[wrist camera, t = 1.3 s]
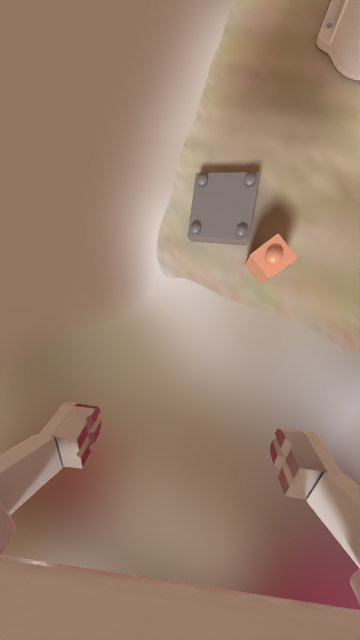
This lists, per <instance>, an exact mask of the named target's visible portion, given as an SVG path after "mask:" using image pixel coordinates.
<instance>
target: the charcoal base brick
mask: <svg viewBox="0 0 360 640" xmlns="http://www.w3.org/2000/svg"><path fill="white" fill-rule="evenodd" d="M259 176H260V172H231V173H196V178H195V186H194V193H193V201H192V208H191V216H190V223H189V231H188V237H189V239H190V240H191V241H194V242H208V243H222V244H235V245H247V242H248V237H249V232H250V226H251V220H252V215H253V209H254V204H255V198H256V193H257V187H258V181H259Z"/></svg>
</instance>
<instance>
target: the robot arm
mask: <svg viewBox="0 0 360 640" xmlns="http://www.w3.org/2000/svg"><path fill="white" fill-rule="evenodd" d="M316 45H317V46H318V47H319V48H320V49H321V50H323V51H324V52H326V53H327V54H328V55H329V56H330V58H331V60H332V62H333V64H334V66H335V67H336V69H337V70H338V71H339V72H340V73H341V74H343V75H344V76H346V77H348V78H350V79H354V80H360V0H331V1H330V4H329V7H328V9H327V12H326V15H325V17H324V20H323V23H322V25H321V28H320V31H319V33H318V36H317V39H316ZM99 414H100V408H99V407H97V406H91V405H84V404H77V403H70V402H66V403H65V404H63V405H62V406H61V408H60V409H59V410H58V411H57V413H56V414H55V415H54V416H53V417H52V419H51V420H50V421H49V422H48V424H47V425H46V426H45V427H44V429H43V430H42V431H41V432H40V433H39V435H33V436H32V437H30V438H28V439H27V440H25V441H23V442H22V443H20V444H18V445H17V446H15V447H13V448H12V449H10V450H8V451H7V452H5V453H4V454H1V455H0V640H360V610H354V609H347V608H340V607H335V606H328V605H322V604H315V603H309V602H302V601H296V600H289V599H283V598H276V597H270V596H264V595H257V594H251V593H244V592H238V591H232V590H225V589H219V588H212V587H205V586H199V585H193V584H186V583H180V582H173V581H167V580H161V579H154V578H147V577H142V576H135V575H129V574H122V573H115V572H109V571H103V570H96V569H90V568H84V567H77V566H70V565H64V564H57V563H51V562H45V561H39V560H32V559H26V558H19V557H13V556H7V555H2V553H3V551H4V549H5V548H6V546H7V544H8V543H9V541H10V540H11V538H12V536H13V535H14V533H15V525H14V523H13V522H12V519H11V518H10V514H12V513H13V512H14V511H15V510H16V509H17V508H18V507H20V506H21V505H22V504H23V503H24V502H25V501H26V500H27V499H28V498H29V497H31V496H32V495H33V494H34V493H35V492H36V491H37V490H38V489H39V488H41V487H42V486H43V485H44V484H45V483H46V482H47V481H48V480H49V479H51V477H53V476H54V475H55V474H56V473H57V472H58V471H59V470H60V469H61V468H62V466H64V467H74V468H83V466H84V464H85V463H86V461H87V459H88V456H89V455H90V453H91V450H90V446H91V445H92V444H93V443H95V442H96V440H97V438H98V436H99V434H100V430H101V424H102V422H101V418H100V417H99ZM275 435H276V439H274V440H273V441H272V443H271V445H270V453H271V458H272V461H273V464H274V466H275V467H276V468H277V469H278V470H279V475H278V479H279V481H280V484H281V487H282V490H283V493H284V495H285V496H289V497H294V498H301V499H306V500H307V502H308V504H309V505H310V506H311V507H312V509H313V510H314V511H315V512H316V514H317V515H318V516H319V518H321V520H322V521H323V523H324V524H325V525H326V526H327V528H328V529H329V530H330V531H331V533H332V534H333V535H334V536H335V538H336V539H337V540H338V541H339V543H340V544H341V545H342V546H343V548H344V549H345V550H346V552H347V553H348V554H349V555H350V557H351V558H352V559H353V560H354V562H355V563H356V564H357V566H358V567H359V568H360V487H359V486H358V485H357V484H356V483H355V482H353V481H352V480H351V479H350V478H349V477H347V475H342V473H341V472H340V470H339V469H338V467H337V465H336V464H335V462H334V461H333V459H332V458H331V456H330V455H329V453H328V451H327V450H326V448H325V447H324V445H323V443H322V442H321V440H320V439H319V437H318V436H317V435H316V434H315V433H312V432H304V431H298V430H289V429H277V430H276V432H275ZM350 584H351V586H352V588H353V590H354V592H355V595H356V597H357V599H358V601H359V604H360V569H359V570H358V571H357V572H355V573H354V574H353V575H352V576H351V579H350Z"/></svg>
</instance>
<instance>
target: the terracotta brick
mask: <svg viewBox="0 0 360 640" xmlns="http://www.w3.org/2000/svg"><path fill="white" fill-rule="evenodd" d="M296 259H298V258H297V257H296V255H295V254H294V253H293V251H292V250H291V249H290V248H289V246H288V245H287V244H286V242H285V241H284V240H283V239H282V237H281V236H280V235H279V234H276V235H275V236H274V237H272V238H271V239H270V240H268V241H267V242H266V243H265V244H263V245H262V246H261V247H259V248H258V249H257V250H255V251H254V252H253V253H252V254H250V256H249V258H248V260H247V262H246V264H245V265H246V267H247V268H248V269H249V271H250V272H251V273H252V275H253V276H254V277H255V278H256V280H257V281H258V282H259V283H261V282H263V281H266V280H268V279H270V278H271V277H272V276H274V275H275V274H277V273H278V272H279V271H281V270H282V269H284V268H285V267H287V266H288V265H289V264H291V263H292V262H294V261H295V260H296Z"/></svg>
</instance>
